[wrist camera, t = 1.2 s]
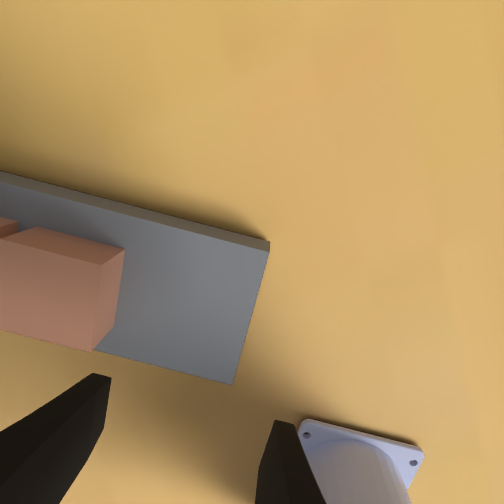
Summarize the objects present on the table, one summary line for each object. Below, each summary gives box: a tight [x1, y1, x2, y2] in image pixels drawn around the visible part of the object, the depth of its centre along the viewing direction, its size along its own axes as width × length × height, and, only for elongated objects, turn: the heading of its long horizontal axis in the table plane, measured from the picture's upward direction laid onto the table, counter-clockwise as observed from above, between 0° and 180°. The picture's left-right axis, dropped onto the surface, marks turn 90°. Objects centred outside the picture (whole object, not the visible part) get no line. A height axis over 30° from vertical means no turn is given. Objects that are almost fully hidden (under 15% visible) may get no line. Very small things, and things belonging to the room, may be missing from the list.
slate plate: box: [0, 171, 270, 385], centre depth 19 cm, size 8×18×2 cm, turn 76°
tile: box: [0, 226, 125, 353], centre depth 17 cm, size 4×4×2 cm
